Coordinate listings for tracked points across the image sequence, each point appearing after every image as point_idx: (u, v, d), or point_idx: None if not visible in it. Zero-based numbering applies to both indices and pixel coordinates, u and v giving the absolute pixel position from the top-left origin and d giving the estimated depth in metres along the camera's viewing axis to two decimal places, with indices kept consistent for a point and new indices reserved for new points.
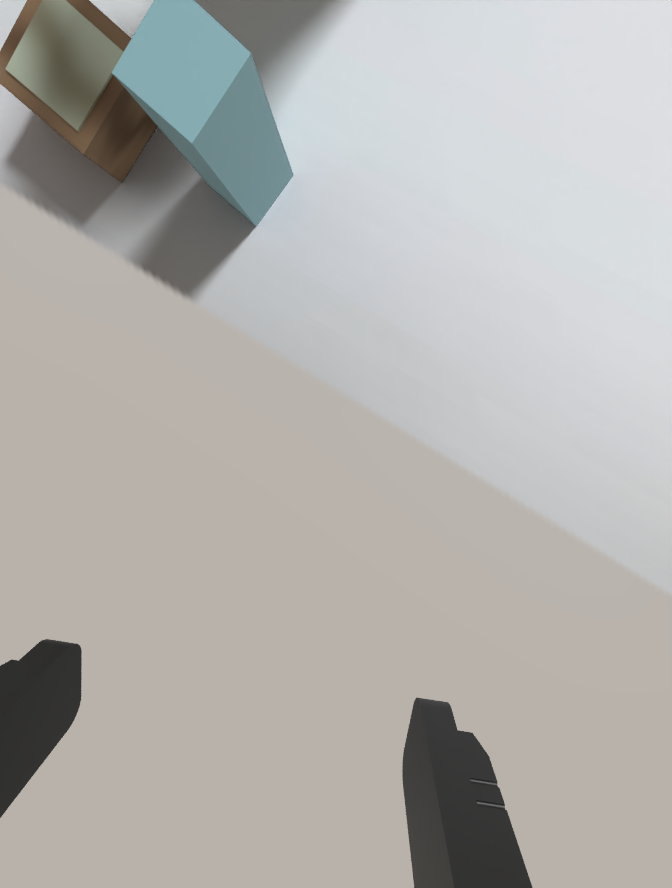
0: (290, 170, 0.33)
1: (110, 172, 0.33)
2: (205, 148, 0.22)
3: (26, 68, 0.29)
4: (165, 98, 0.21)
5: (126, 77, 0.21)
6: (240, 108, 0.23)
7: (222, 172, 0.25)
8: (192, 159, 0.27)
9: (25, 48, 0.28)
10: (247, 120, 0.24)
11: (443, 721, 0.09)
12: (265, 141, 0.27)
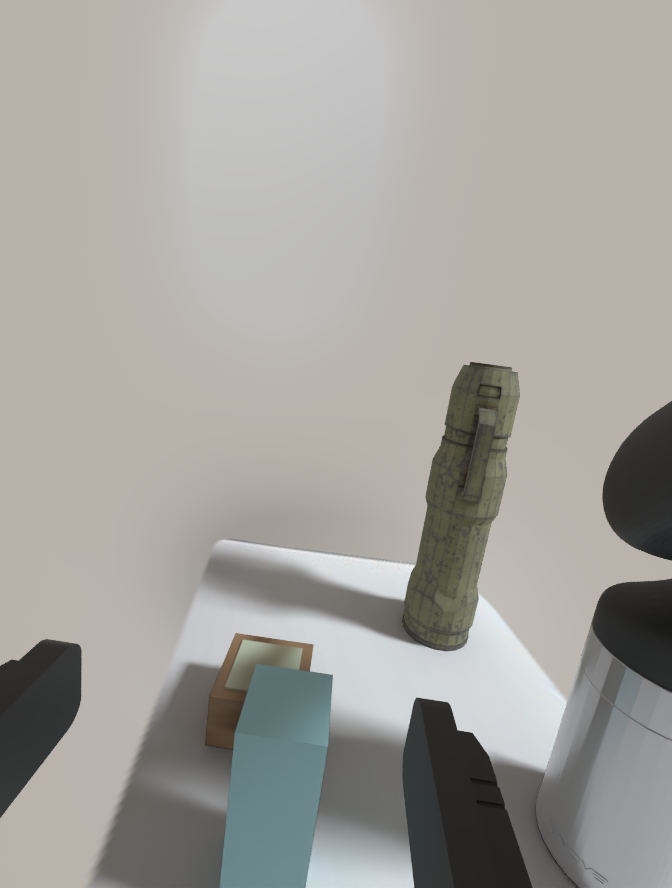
0: None
1: (208, 728, 0.35)
2: (240, 753, 0.22)
3: (249, 649, 0.40)
4: (258, 700, 0.24)
5: (258, 672, 0.26)
6: (291, 771, 0.23)
7: (235, 795, 0.23)
8: None
9: (261, 645, 0.41)
10: (289, 789, 0.23)
11: (443, 721, 0.09)
12: (292, 835, 0.24)
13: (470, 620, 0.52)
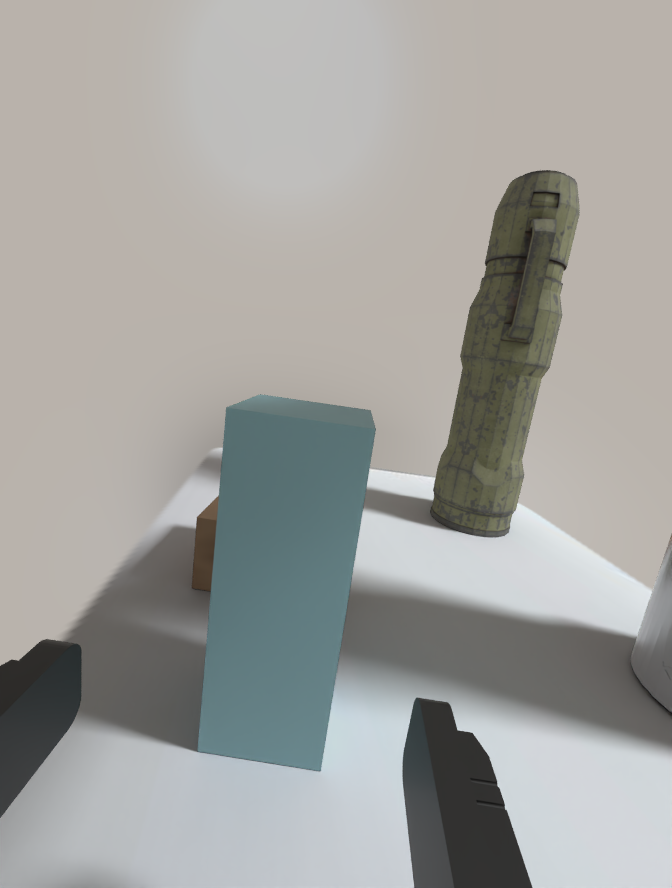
0: (321, 748, 0.16)
1: (195, 564, 0.27)
2: (234, 447, 0.14)
3: None
4: (263, 403, 0.16)
5: (263, 396, 0.18)
6: (315, 478, 0.14)
7: (227, 526, 0.15)
8: None
9: None
10: (312, 513, 0.14)
11: (443, 721, 0.09)
12: (316, 598, 0.15)
13: (514, 501, 0.44)
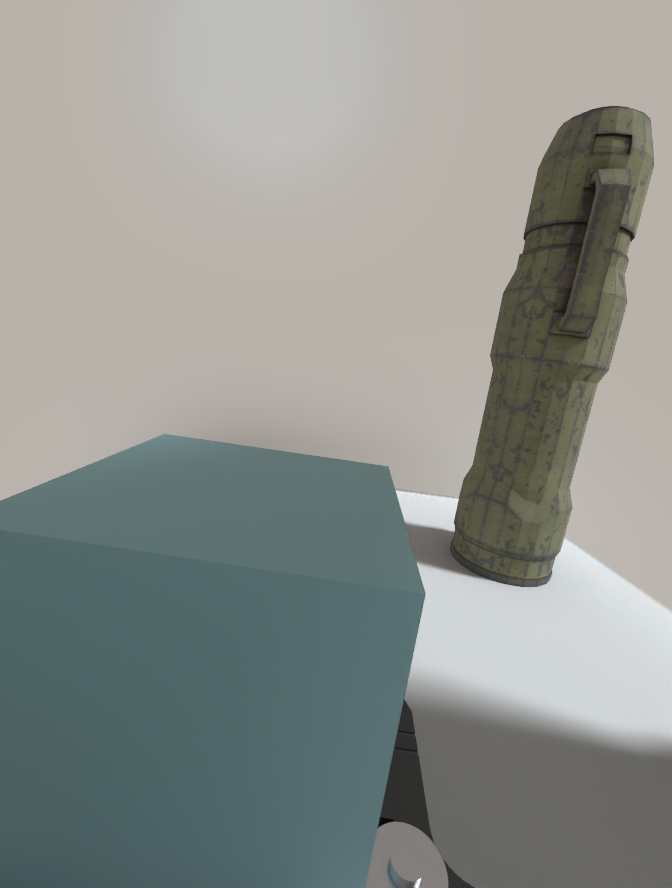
0: None
1: None
2: None
3: None
4: (132, 473, 0.07)
5: (162, 442, 0.09)
6: (238, 728, 0.05)
7: None
8: None
9: None
10: (235, 813, 0.05)
11: None
12: None
13: (560, 540, 0.34)
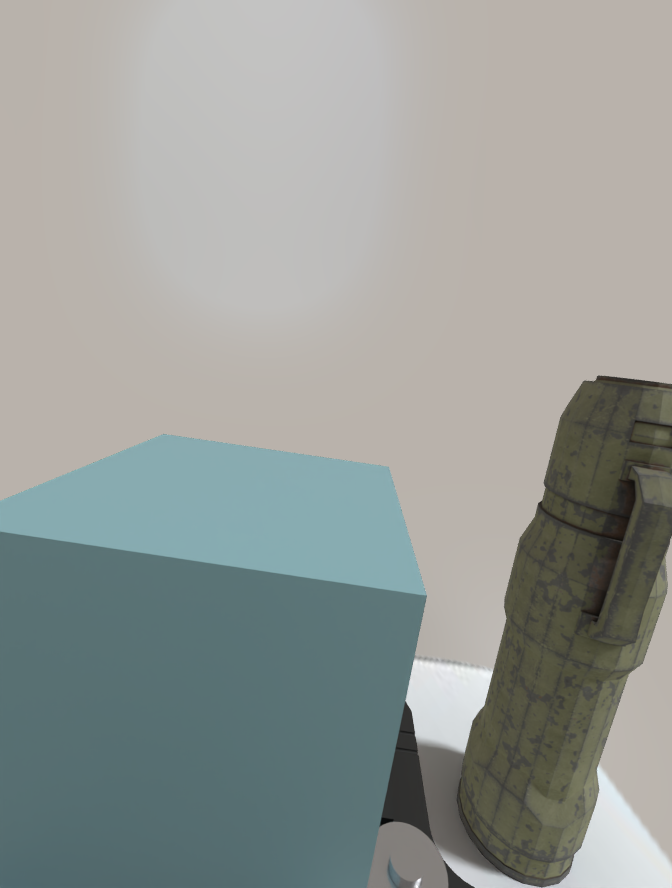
0: None
1: None
2: None
3: None
4: (130, 473, 0.06)
5: (161, 442, 0.08)
6: (238, 730, 0.05)
7: None
8: None
9: None
10: (235, 816, 0.05)
11: None
12: None
13: (585, 831, 0.29)
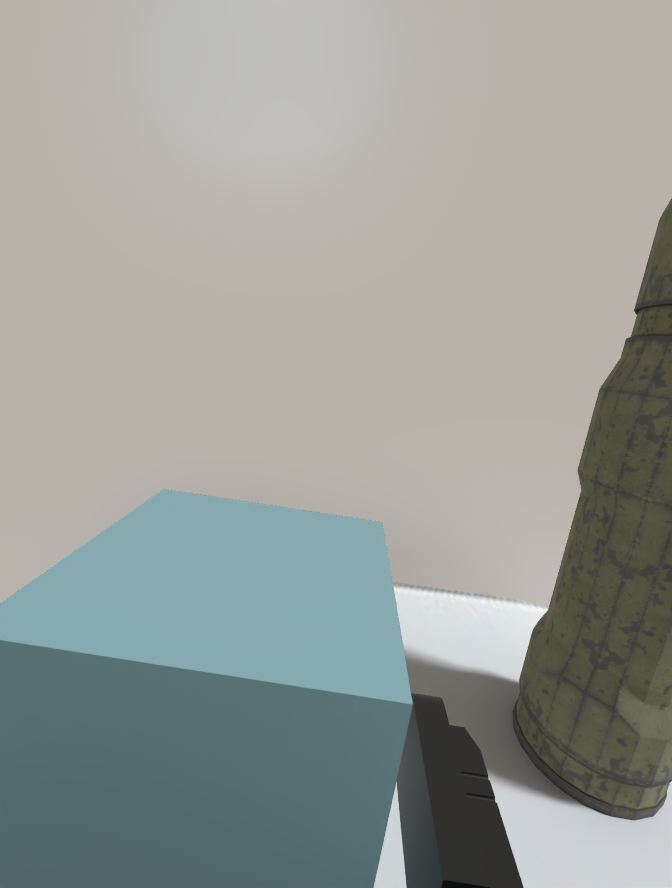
0: None
1: None
2: None
3: None
4: (131, 550, 0.07)
5: (161, 502, 0.09)
6: (235, 821, 0.05)
7: None
8: None
9: None
10: None
11: (435, 716, 0.09)
12: None
13: None
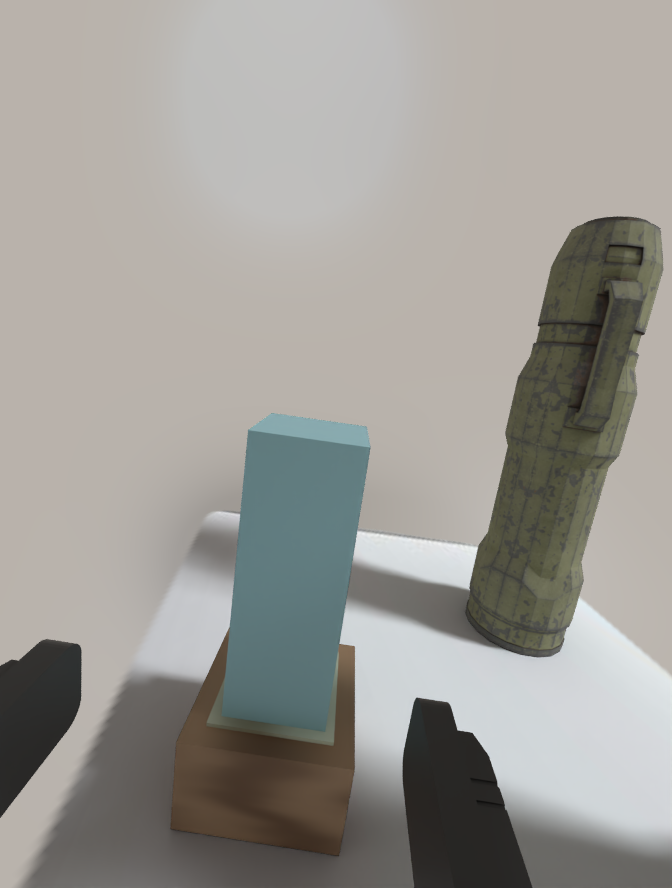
0: (325, 712, 0.20)
1: (175, 800, 0.19)
2: (254, 462, 0.17)
3: None
4: (276, 423, 0.19)
5: (275, 415, 0.21)
6: (321, 487, 0.17)
7: (248, 527, 0.18)
8: None
9: None
10: (318, 515, 0.18)
11: (443, 721, 0.09)
12: (321, 586, 0.18)
13: (572, 612, 0.36)
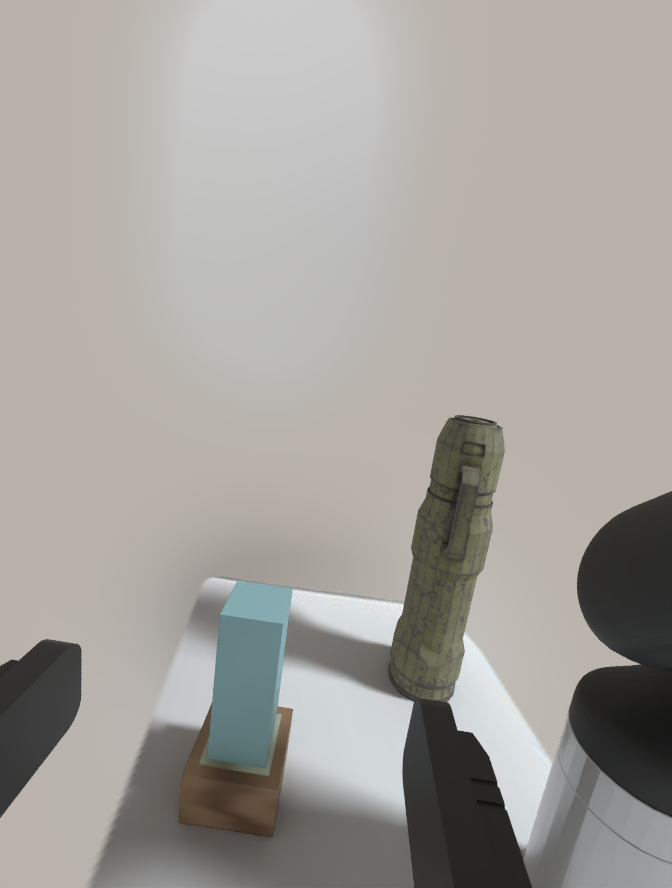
0: (265, 757, 0.35)
1: (181, 806, 0.35)
2: (223, 629, 0.33)
3: None
4: (237, 599, 0.35)
5: (238, 585, 0.37)
6: (258, 642, 0.33)
7: (220, 661, 0.33)
8: None
9: None
10: (257, 656, 0.33)
11: (443, 721, 0.09)
12: (260, 691, 0.34)
13: (456, 674, 0.51)
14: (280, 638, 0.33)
